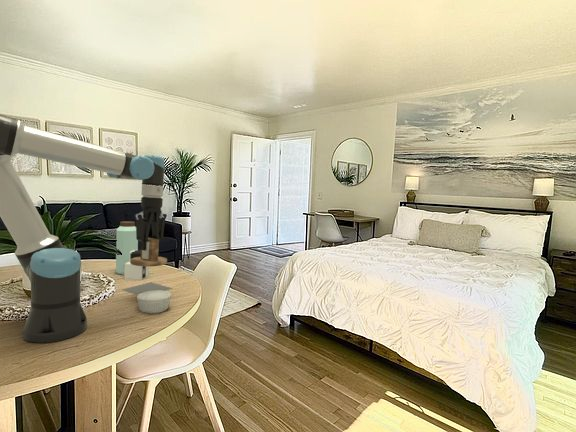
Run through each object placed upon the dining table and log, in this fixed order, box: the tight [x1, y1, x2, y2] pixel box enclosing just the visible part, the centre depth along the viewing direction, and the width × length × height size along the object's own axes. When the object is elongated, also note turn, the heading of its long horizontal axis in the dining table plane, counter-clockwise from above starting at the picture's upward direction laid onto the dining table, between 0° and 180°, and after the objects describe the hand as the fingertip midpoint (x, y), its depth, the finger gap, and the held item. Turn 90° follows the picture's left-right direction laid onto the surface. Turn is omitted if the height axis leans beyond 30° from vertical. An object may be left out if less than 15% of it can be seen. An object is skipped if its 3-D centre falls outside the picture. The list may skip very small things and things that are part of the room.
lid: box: [130, 237, 168, 267], centre depth 125 cm, size 13×13×9 cm
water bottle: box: [115, 221, 139, 276], centre depth 158 cm, size 10×10×25 cm
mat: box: [121, 281, 173, 296], centre depth 135 cm, size 14×14×1 cm
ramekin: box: [136, 290, 172, 315], centre depth 116 cm, size 11×11×5 cm
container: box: [124, 249, 150, 281], centre depth 151 cm, size 8×8×13 cm
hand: (149, 257), depth 125 cm, fingers closed on lid, 3 cm apart
